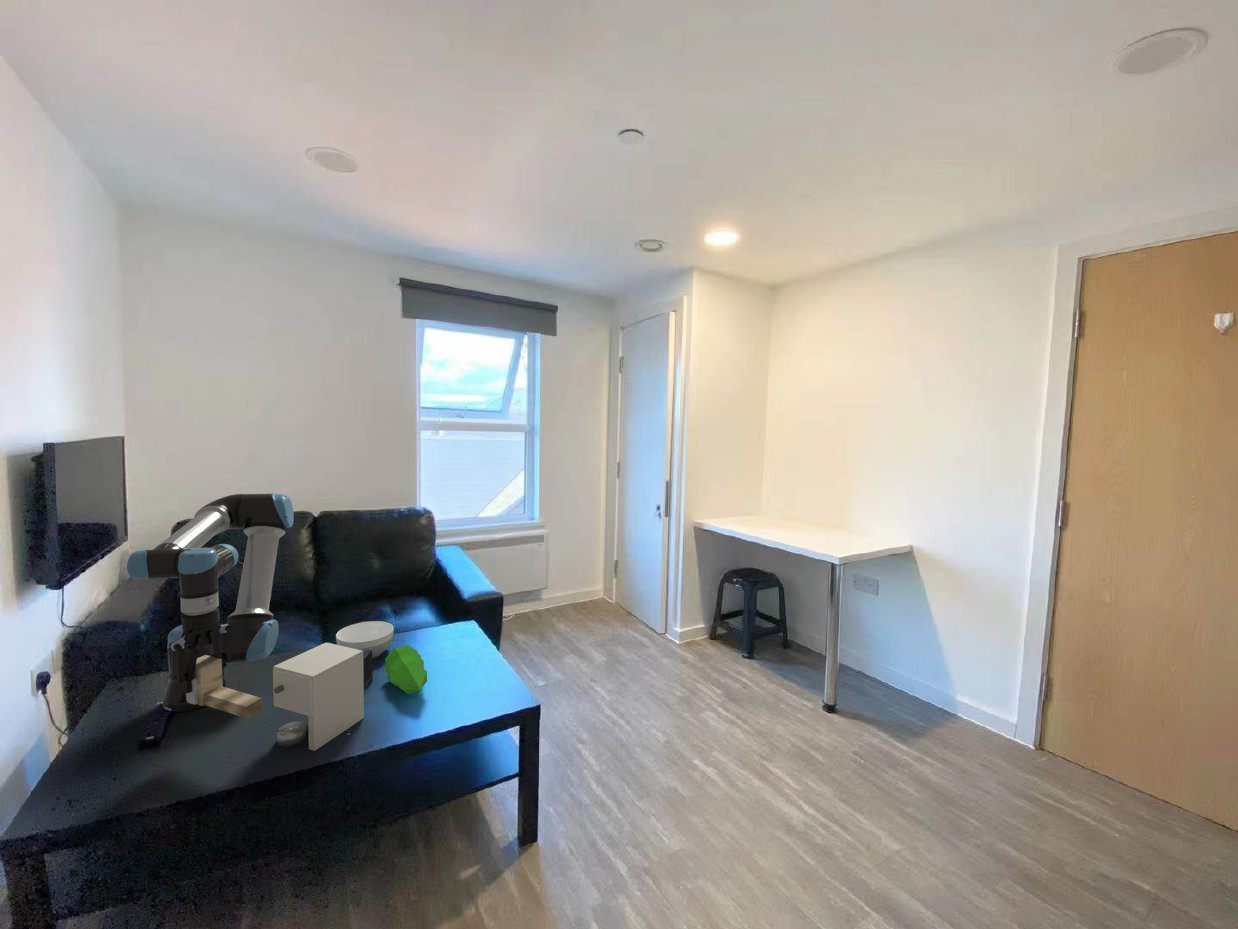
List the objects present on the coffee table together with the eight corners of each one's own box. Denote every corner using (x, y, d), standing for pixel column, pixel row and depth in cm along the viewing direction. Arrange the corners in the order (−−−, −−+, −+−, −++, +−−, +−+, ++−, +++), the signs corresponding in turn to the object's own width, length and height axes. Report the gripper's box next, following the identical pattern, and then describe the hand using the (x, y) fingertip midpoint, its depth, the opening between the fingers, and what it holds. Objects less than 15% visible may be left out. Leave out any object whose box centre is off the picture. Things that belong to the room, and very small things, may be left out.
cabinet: (268, 742, 136) (266, 669, 134) (327, 707, 153) (326, 642, 151) (307, 755, 131) (305, 680, 130) (364, 718, 148) (363, 650, 147)
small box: (373, 679, 170) (373, 649, 169) (364, 690, 163) (364, 658, 163) (341, 679, 170) (340, 648, 169) (330, 689, 163) (330, 657, 162)
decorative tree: (406, 631, 179) (430, 663, 154) (420, 658, 182) (445, 693, 157) (373, 651, 173) (392, 687, 149) (388, 678, 176) (409, 718, 152)
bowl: (385, 639, 201) (385, 617, 200) (400, 657, 186) (400, 633, 186) (331, 651, 189) (330, 628, 188) (342, 672, 174) (342, 647, 174)
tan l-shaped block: (186, 700, 132) (184, 663, 131) (207, 691, 136) (205, 654, 135) (244, 719, 125) (242, 680, 124) (264, 708, 130) (262, 670, 129)
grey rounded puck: (271, 743, 136) (271, 732, 136) (292, 730, 142) (292, 719, 142) (290, 748, 134) (290, 737, 134) (311, 734, 140) (311, 724, 140)
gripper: (169, 626, 121) (174, 719, 123) (246, 600, 138) (250, 683, 140) (148, 620, 123) (154, 712, 126) (227, 596, 140) (231, 677, 143)
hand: (204, 697), depth 133 cm, fingers closed on tan l-shaped block, 5 cm apart
